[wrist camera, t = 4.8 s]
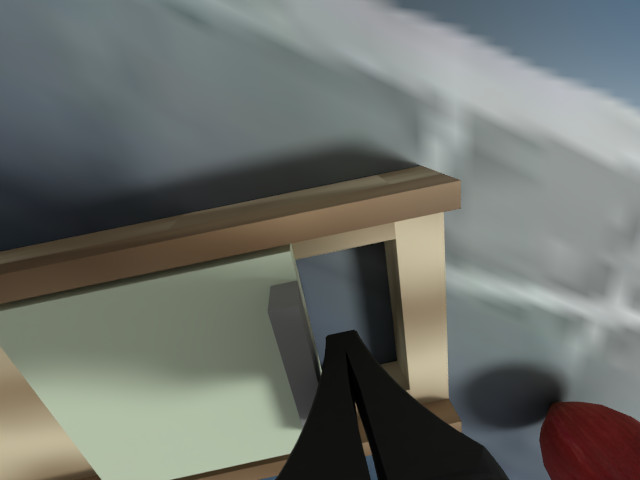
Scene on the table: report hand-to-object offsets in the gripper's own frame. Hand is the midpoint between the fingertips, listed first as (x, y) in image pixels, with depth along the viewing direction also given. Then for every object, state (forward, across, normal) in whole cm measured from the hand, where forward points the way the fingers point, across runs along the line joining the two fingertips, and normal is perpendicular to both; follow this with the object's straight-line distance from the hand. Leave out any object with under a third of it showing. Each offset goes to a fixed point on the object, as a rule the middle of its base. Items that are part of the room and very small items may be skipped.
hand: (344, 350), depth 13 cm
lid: (+1, +7, 0) cm, 7 cm away
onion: (+3, -13, +11) cm, 17 cm away
